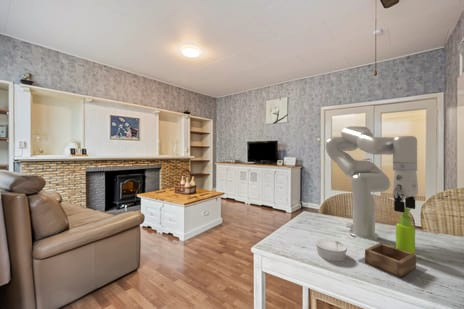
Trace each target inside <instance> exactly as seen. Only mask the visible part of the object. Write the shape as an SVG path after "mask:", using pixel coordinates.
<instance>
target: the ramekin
mask: <svg viewBox="0 0 464 309" xmlns="http://www.w3.org/2000/svg"><path fill="white" fill-rule="evenodd" d="M315 246H316V249H317V250H316V251H317V255H318V256H319V257H321V258H322V259H325V260H327V261H331V262H341V261H344V260H345V257H346V253H347V251H348V248H347V246H346V244H344V243H342V242H340V241H338V240H334V239H329V238H328V239H327V238H324V239H323V238H322V239H321V238H320V239H318V240H316V242H315Z"/></svg>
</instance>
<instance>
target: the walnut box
mask: <svg viewBox="0 0 464 309" xmlns="http://www.w3.org/2000/svg"><path fill="white" fill-rule="evenodd" d="M364 257H365V263H366V264H369V265H371V266H373V267H376V268H378V269H380V270H383V271H385V272H387V273H390V274H392V275H394V276H397V277H399V278H401V279H402V278H403V277H405V276H406V275H408V274H409V273H411V272H412V271H413V270H415V269H416V266H417V254H416V253H415V254H412V253H409V252H406V251H403V250H400V249H397V248H396V247H394V246H391V245H388V244H385V243H383V242H378V243H377V244H375V245H372V246H370V247H368V248H366V249H364ZM366 264H365V265H366ZM373 267H372V268H373ZM380 270H379V271H380Z"/></svg>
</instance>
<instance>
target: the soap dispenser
mask: <svg viewBox="0 0 464 309" xmlns="http://www.w3.org/2000/svg"><path fill="white" fill-rule="evenodd" d="M392 209H393V210H394V206H393V207H392ZM409 212H411V209H410V208H406V207H405V212H404V213H403V212H402V215H399V217H400V218H399V222H397V223H396V224H395V248H397V249H400V250H403V251H406V252H409V253H412V254H415V255H416V226H414V225H413V224H412V217H411V216H409Z"/></svg>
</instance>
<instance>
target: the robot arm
mask: <svg viewBox="0 0 464 309" xmlns="http://www.w3.org/2000/svg"><path fill="white" fill-rule="evenodd" d="M340 135H341V136H333V137H330V138H329V139H327V140H326V141H325V149H326V154H327V155H328V156H329V158H330V159H331V160H332V161H333V162H334V163H335V164H336V165H337V166H338V167H339V169H340V170H341V171H342V172H343V174H344V175H346V177H348V178H351V179H350V186H351V191H352V223H351V222H346V223H345V227H346V228H349V231H348V233H349V235H350V236H351V237H353V238H357V237H358V238H361V239H366V240H367V239H368V240H375V241H376V240H379V235H378V233H376V232H375V231H376V201H375V198H374V196H373V195H372V193H381V192H386V191H388V190H389V189H390V187H391V181H390V178H389V177H388V176H387V174H386V173H385V172H383V171H382V170H381V169H380V168H379V167H378V166H377V165H376V164H375V163H374V162H372V161H370V160H363V159H362V160H358V159H354V157H352V156H351V154H349V153H348V152H353V151H355V150H357V149H359V150H360V151H363V152H365V153H368V154H370V155H371V154H372V155H378V156H379V155H392V171H394V174H393V190H392V193H393V202H394V203H393V204H394V205H393V207H394V209H393V211H394V212H398V213H402V214H403V213H404V212H405V208H409V209H410V210H415V209H416V198H417V197H416V196H417V195H418V194H419V185H418V183H419V182H418V175H417V172H418V139H417V137H416V136H414V135H401V136H395V137H394V136H392V137H390V136H389V137H388V136H384V137H383V136H374V134H373V132H372V131H371V130H370V128H369V127H366V126H361V125H360V126H357V125H355V126H352V125H351V126H347V127H344V128H343V129H342V131H341V132H340Z"/></svg>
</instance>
